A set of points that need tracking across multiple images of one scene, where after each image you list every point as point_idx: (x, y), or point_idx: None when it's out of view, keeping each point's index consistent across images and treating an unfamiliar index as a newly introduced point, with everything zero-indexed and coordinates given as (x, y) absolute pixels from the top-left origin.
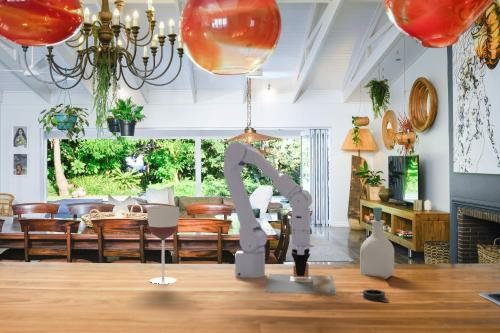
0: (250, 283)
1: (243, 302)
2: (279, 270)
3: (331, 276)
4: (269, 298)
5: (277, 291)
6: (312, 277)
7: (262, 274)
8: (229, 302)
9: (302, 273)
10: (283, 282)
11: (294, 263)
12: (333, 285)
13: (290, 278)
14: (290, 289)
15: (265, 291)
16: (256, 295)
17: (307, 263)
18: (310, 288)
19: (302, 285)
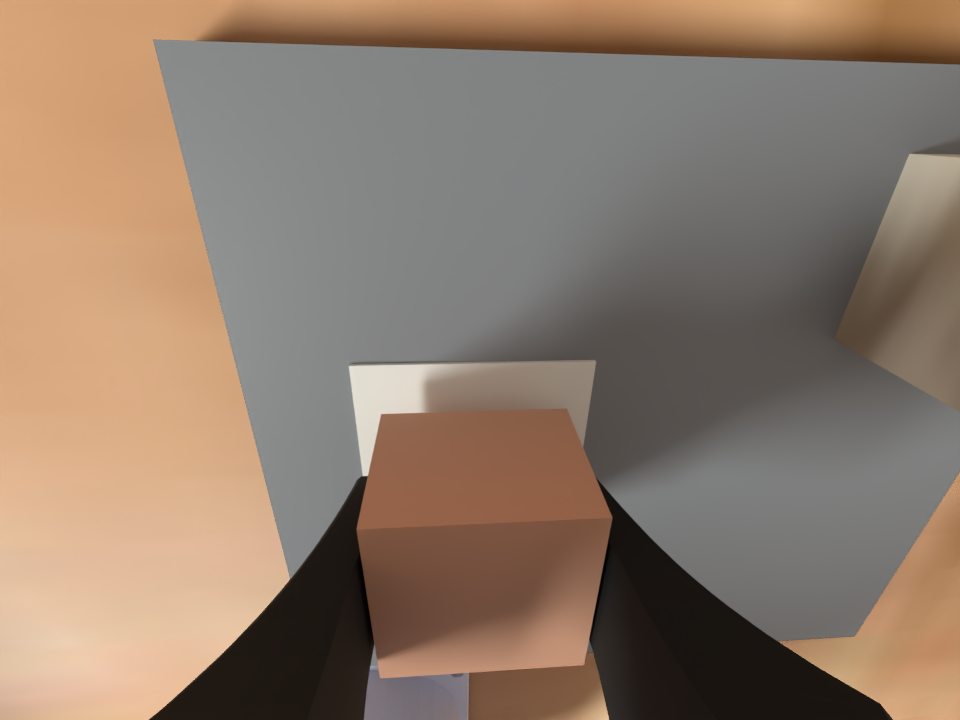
0: (513, 696)
1: (920, 667)
2: (3, 607)
3: (222, 56)
4: (890, 583)
5: (871, 580)
6: (366, 344)
7: (418, 709)
8: (896, 707)
9: None
10: None
11: (451, 666)
12: (796, 78)
13: None
14: (843, 513)
15: (848, 634)
16: (802, 641)
17: (420, 537)
18: (857, 366)
19: (729, 435)
